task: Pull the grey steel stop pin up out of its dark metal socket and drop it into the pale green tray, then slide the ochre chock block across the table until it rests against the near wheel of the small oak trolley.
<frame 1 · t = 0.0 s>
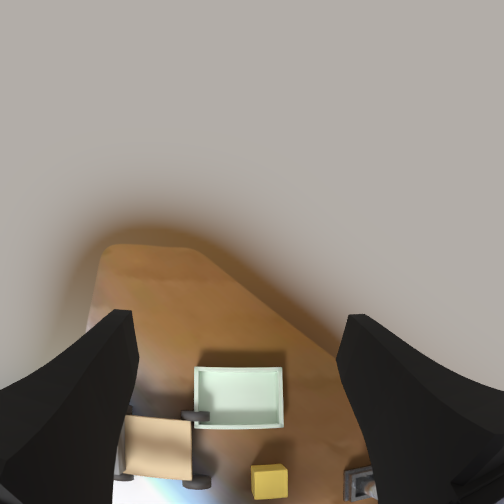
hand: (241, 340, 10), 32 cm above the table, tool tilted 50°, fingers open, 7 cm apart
stop pin: (361, 483, 33), point 1 cm above the table, touching pin socket
chock: (266, 477, 33), on the table
tray: (237, 398, 38), on the table
pin socket: (359, 482, 33), on the table
trolley: (158, 444, 34), on the table
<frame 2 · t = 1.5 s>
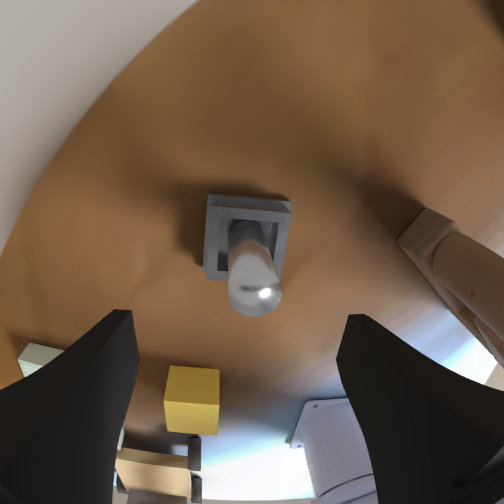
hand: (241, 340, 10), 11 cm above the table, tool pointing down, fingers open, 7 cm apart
stop pin: (245, 237, 19), point 1 cm above the table, touching pin socket
chock: (194, 383, 25), on the table
tray: (78, 392, 24), on the table
wooden block: (440, 263, 22), on the table
pin socket: (245, 234, 20), on the table
trolley: (156, 458, 29), on the table
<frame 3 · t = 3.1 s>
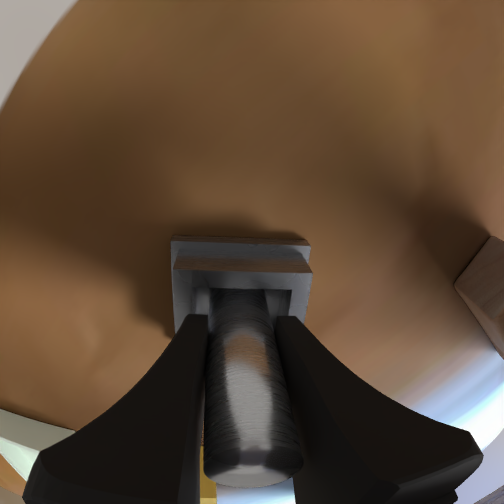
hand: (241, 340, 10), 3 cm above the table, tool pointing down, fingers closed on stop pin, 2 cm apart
stop pin: (237, 304, 12), point 1 cm above the table, touching gripper, pin socket
chock: (186, 458, 18), on the table
tray: (55, 456, 18), on the table
wooden block: (496, 302, 15), on the table
pin socket: (237, 296, 13), on the table
when the fingers open (4 cm above the table, at t = 6.5 s): stop pin drops 1 cm, resting on tray.
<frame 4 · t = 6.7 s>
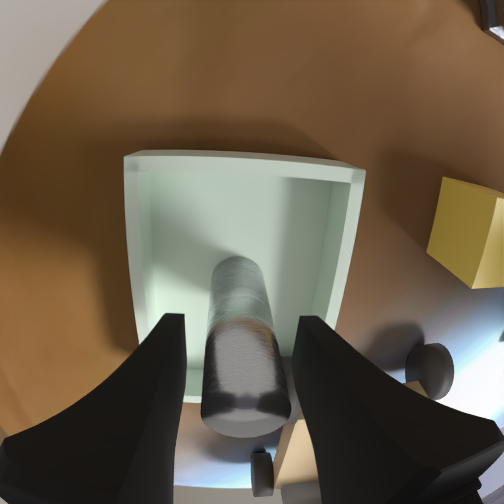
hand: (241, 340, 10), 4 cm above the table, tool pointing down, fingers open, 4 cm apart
stop pin: (237, 280, 13), point 1 cm above the table, touching tray
chock: (460, 218, 14), on the table
tray: (235, 278, 14), on the table
trolley: (333, 414, 19), on the table
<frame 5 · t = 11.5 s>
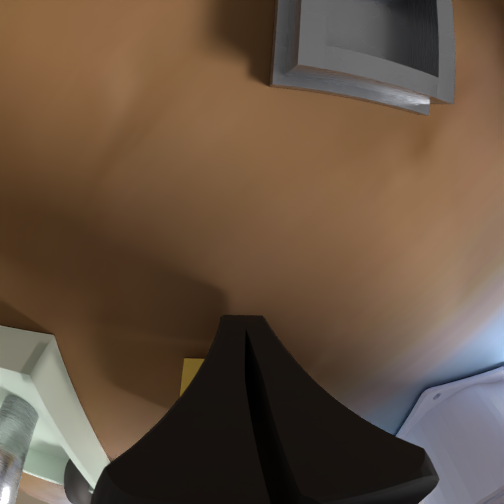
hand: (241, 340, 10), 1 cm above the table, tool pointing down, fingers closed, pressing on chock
stop pin: (21, 408, 12), point 1 cm above the table, touching tray
chock: (235, 392, 12), on the table, touching gripper
tray: (26, 402, 12), on the table
pin socket: (355, 26, 7), on the table
trolley: (167, 497, 17), on the table
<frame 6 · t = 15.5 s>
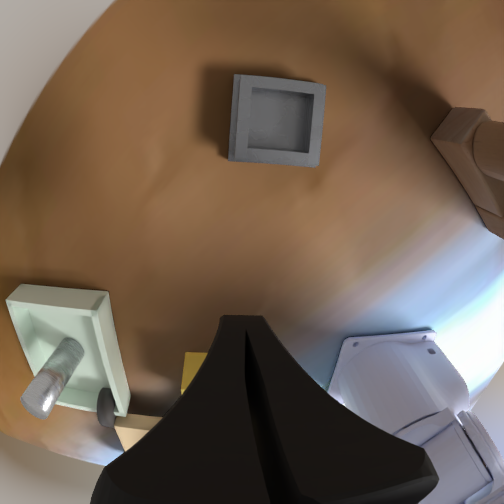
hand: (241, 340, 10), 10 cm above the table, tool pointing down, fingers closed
stop pin: (72, 348, 21), point 1 cm above the table, touching tray
chock: (212, 370, 24), on the table
tray: (76, 345, 22), on the table
wooden block: (473, 172, 19), on the table
pin socket: (274, 120, 17), on the table
trolley: (169, 429, 27), on the table
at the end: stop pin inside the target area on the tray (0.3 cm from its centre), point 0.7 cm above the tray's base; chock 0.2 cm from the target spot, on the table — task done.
